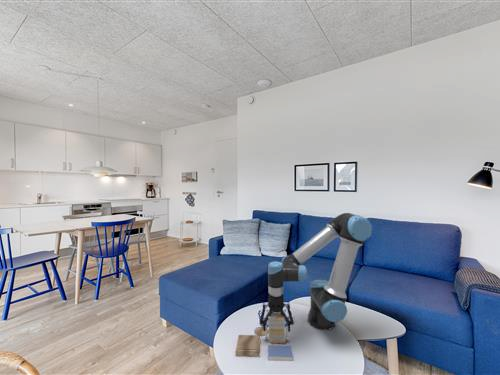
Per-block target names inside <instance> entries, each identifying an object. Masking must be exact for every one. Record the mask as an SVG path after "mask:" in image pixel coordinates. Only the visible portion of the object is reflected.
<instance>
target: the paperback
mask: <svg viewBox="0 0 500 375" xmlns="http://www.w3.org/2000/svg"><path fill="white" fill-rule="evenodd" d="M267 355H268V356H267V358H268V359H267V360H268V361H280V362H281V361H282V362H283V361H284V362H285V361H287V362H293V361H294V356H293V350H292V346H291V345H280V344H279V345H277V344H276V345H274V344H270V345H269V344H268V345H267Z"/></svg>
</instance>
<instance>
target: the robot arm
mask: <svg viewBox="0 0 500 375" xmlns="http://www.w3.org/2000/svg"><path fill="white" fill-rule="evenodd" d="M372 232H373V225H372V224H371V222H370V220H369V219H367V217H364V216H361V215H357V214H353V213H350V212H344V213H341V214H339V215H337V216H336V217H334V218H332V219H331V220H330V221H329V222H328V223H326V226H325V227H324V228H323V229H322V230H320V231H319V232H318V233H316V234H315V235H314V236H312V238H310V239H309V240H308V241H307V242H305V243H304V244H303V245H301V246H300V247H299V248H298V249H297V250H295V251H294V252H292V253H291V254H289V255H285V256H283V257H282V258H281V261H271V262H269V263H268V264H267V265H268V266H267V267H268V268H267V278H268V279H267V281H268V282H267V283H268V287H267V288H268V291H267V292H268V303H265V302H263V303H262V310H261V313H260V314H261V315H260V318H259V324H260V325H262V327H263V330H264V331H266V336H265V339H266V340H267V339H268V334H267V329H268V316H271V314H272V313H281V315H282V316H284V317H285V338H286V340H289V332H291V326H293V325H294V322H295V321H294V318H293V315H292V312H291V304H290V303H289V302H288V303H285V302H284V301H285V300H284V283H286V282H287V283H288V282H291V283H292V282H299V283H300V282H305V281H307V279H308V270H307V266H306V265H303V264H304V263H305V262H306V261H308V260H309V259H310V258H311V257H313V256H314V255H315V254H317V253H318V252H319V251H320V250H321V249H323V248H324V247H326V246H327V245H328V244H329V243H331V242H332V241H333V240H334V239H335V238H339V239H340V244H339V248H338V250H337V253H336V257H335V259H334V263H333V266H332V270H331V274H330V276H329V280H325V279H314V280H311V281H310V287H309V290H310V291H309V292H310V308H309V311H308V315H307V322H308V324H309V323H310V324H311V326H312V327H313V326H314V327H313V328H314V329H319V330H323V329H328V330H330V329H329V328H332V327H333V328H335V327H336V325H335V323H339V322H341V321H343V320H344V319H345V318H346V316H347V313H348V308H347V305H346V300H347V298H348V297H347V294H346V289H347V286H348V283H349V279H350V277H351V274H352V270H353V266H354V264H355V260H356V257H357V254H358V251H359V248H360V247H361V246H363V245H364V243H365V241H367V240H368V239H369V238H370V237H371V235H372ZM267 308H269V310H268V312H267V314H266V316H265V313H266V310H267ZM284 308H285V309H286V310H287V313H288V316H287V315H286V313H285V311H284ZM310 324H309V325H310ZM334 326H335V327H334ZM333 328H332V329H333Z"/></svg>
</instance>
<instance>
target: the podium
mask: <svg viewBox="0 0 500 375" xmlns="http://www.w3.org/2000/svg"><path fill="white" fill-rule="evenodd" d="M260 352H261V336H259V335H256V334H254V335H253V334H252V335H251V334H238V336H237V342H236V345H235V356H236V357H255V358H256V357H260V354H261V353H260Z"/></svg>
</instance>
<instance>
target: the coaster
mask: <svg viewBox="0 0 500 375" xmlns="http://www.w3.org/2000/svg"><path fill="white" fill-rule="evenodd" d="M253 332H254V335H259V336H260V337H266V331H264V330H263V326H258V327H256V328H255V329H254V330H253ZM267 335H269V328H267Z"/></svg>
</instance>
